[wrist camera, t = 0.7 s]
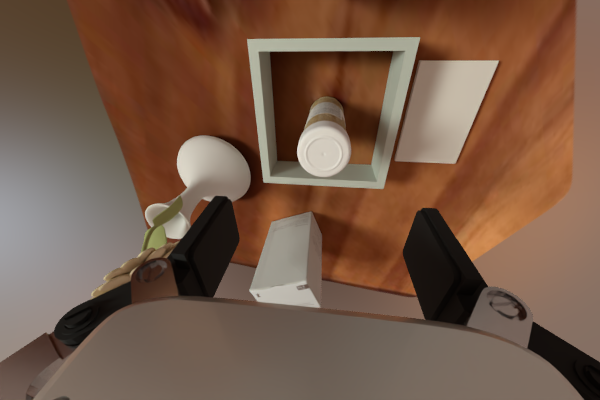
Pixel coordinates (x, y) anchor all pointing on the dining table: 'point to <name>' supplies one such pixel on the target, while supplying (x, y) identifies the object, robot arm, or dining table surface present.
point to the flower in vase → (187, 200)
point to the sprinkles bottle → (324, 139)
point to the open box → (389, 117)
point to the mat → (442, 109)
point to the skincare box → (290, 263)
